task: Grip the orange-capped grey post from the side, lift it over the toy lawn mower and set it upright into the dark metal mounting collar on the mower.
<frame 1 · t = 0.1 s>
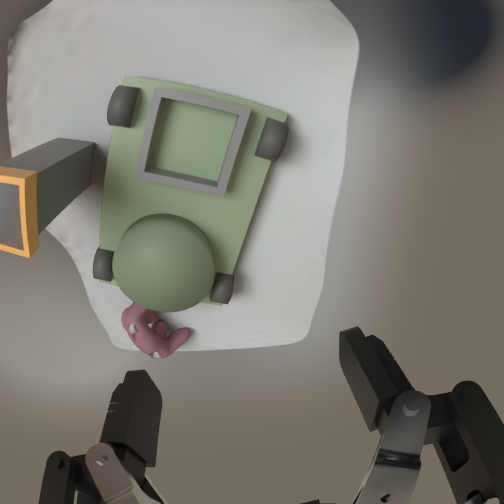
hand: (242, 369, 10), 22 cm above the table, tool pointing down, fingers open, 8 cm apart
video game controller: (158, 313, 38), on the table
orange-capped grey post: (72, 161, 25), on the table
toy lawn mower: (177, 198, 29), on the table
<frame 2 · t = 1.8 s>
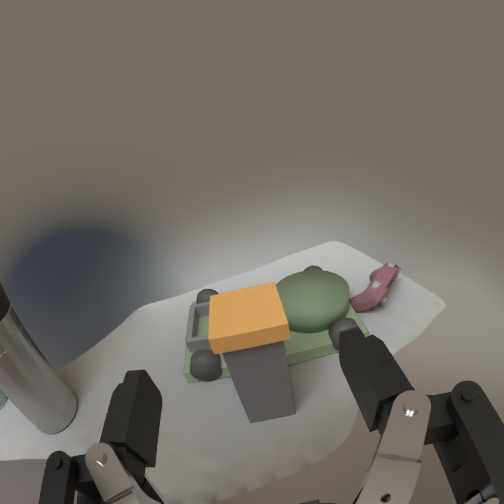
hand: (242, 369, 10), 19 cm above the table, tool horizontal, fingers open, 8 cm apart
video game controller: (375, 300, 41), on the table
orange-capped grey post: (269, 401, 29), on the table
toy lawn mower: (270, 327, 40), on the table
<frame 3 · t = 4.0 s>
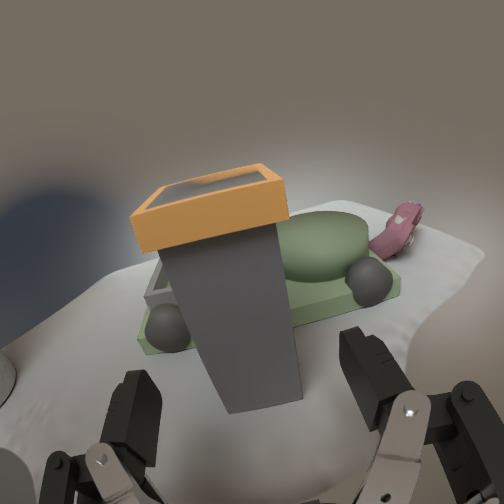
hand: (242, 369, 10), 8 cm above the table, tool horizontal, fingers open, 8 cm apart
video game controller: (396, 249, 31), on the table
orange-capped grey post: (260, 380, 19), on the table
toy lawn mower: (263, 284, 30), on the table
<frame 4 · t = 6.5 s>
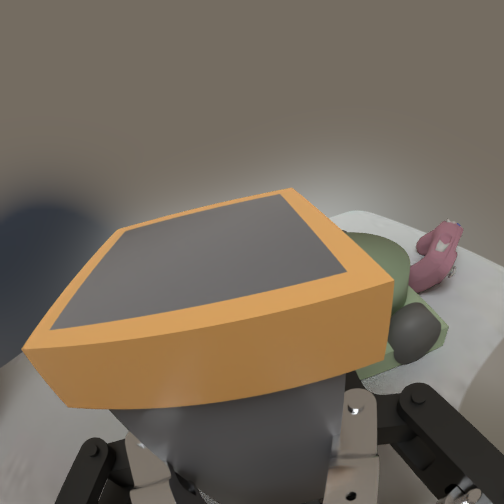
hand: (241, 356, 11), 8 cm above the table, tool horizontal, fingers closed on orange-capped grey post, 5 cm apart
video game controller: (430, 276, 25), on the table
orange-capped grey post: (276, 470, 12), on the table, touching gripper
toy lawn mower: (275, 326, 24), on the table
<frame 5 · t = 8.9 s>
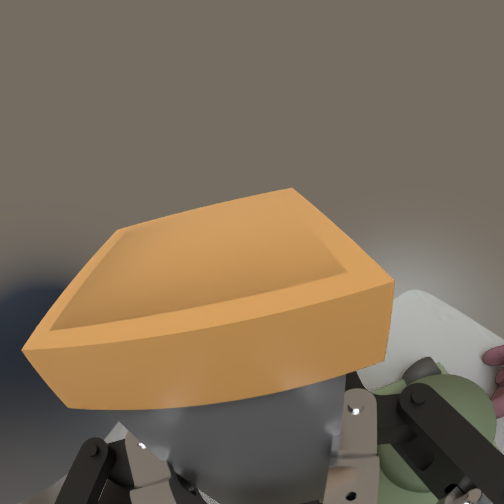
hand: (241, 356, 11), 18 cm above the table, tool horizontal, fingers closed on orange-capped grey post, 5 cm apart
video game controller: (493, 393, 18), on the table
orange-capped grey post: (276, 470, 12), point 10 cm above the table, touching gripper
toy lawn mower: (364, 475, 17), on the table
when the fingers open (11 cm above the table, at t = 11.4 s): orange-capped grey post drops 1 cm, resting on toy lawn mower.
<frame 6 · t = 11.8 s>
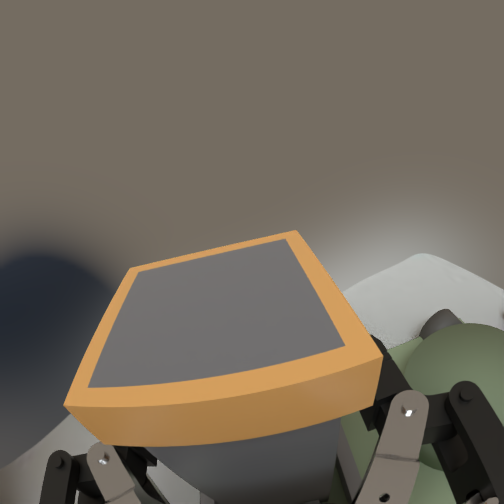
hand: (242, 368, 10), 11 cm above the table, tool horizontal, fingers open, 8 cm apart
orange-capped grey post: (278, 477, 13), point 2 cm above the table, touching toy lawn mower
toy lawn mower: (382, 455, 13), on the table
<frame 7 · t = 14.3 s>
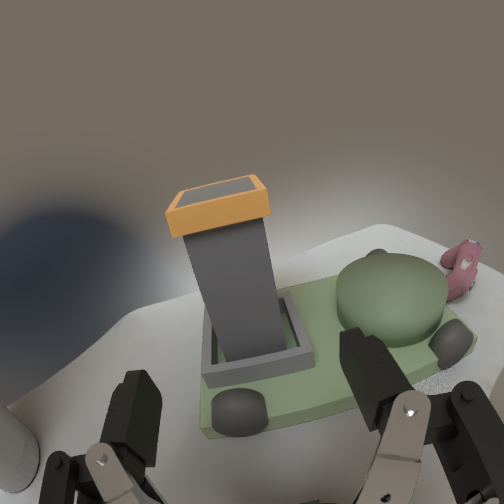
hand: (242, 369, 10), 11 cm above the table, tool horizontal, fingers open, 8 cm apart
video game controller: (452, 288, 27), on the table
orange-capped grey post: (255, 344, 24), point 2 cm above the table, touching toy lawn mower
toy lawn mower: (330, 341, 25), on the table
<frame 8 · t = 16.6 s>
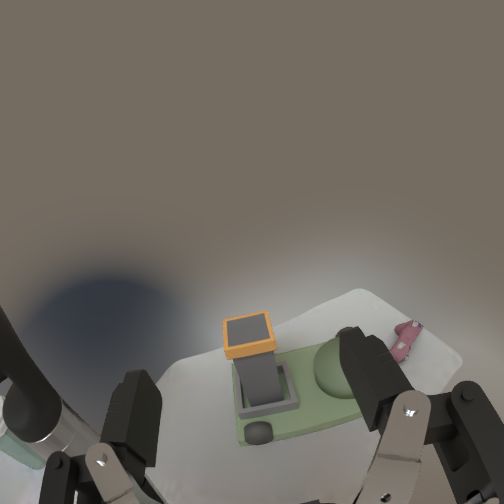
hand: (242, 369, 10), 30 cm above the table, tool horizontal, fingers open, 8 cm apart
disposable coffee cup: (39, 458, 28), on the table
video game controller: (398, 352, 42), on the table
orange-capped grey post: (265, 393, 39), point 2 cm above the table, touching toy lawn mower
toy lawn mower: (310, 389, 40), on the table
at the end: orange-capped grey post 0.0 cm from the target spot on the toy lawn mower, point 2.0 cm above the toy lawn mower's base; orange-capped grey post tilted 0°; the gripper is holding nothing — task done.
